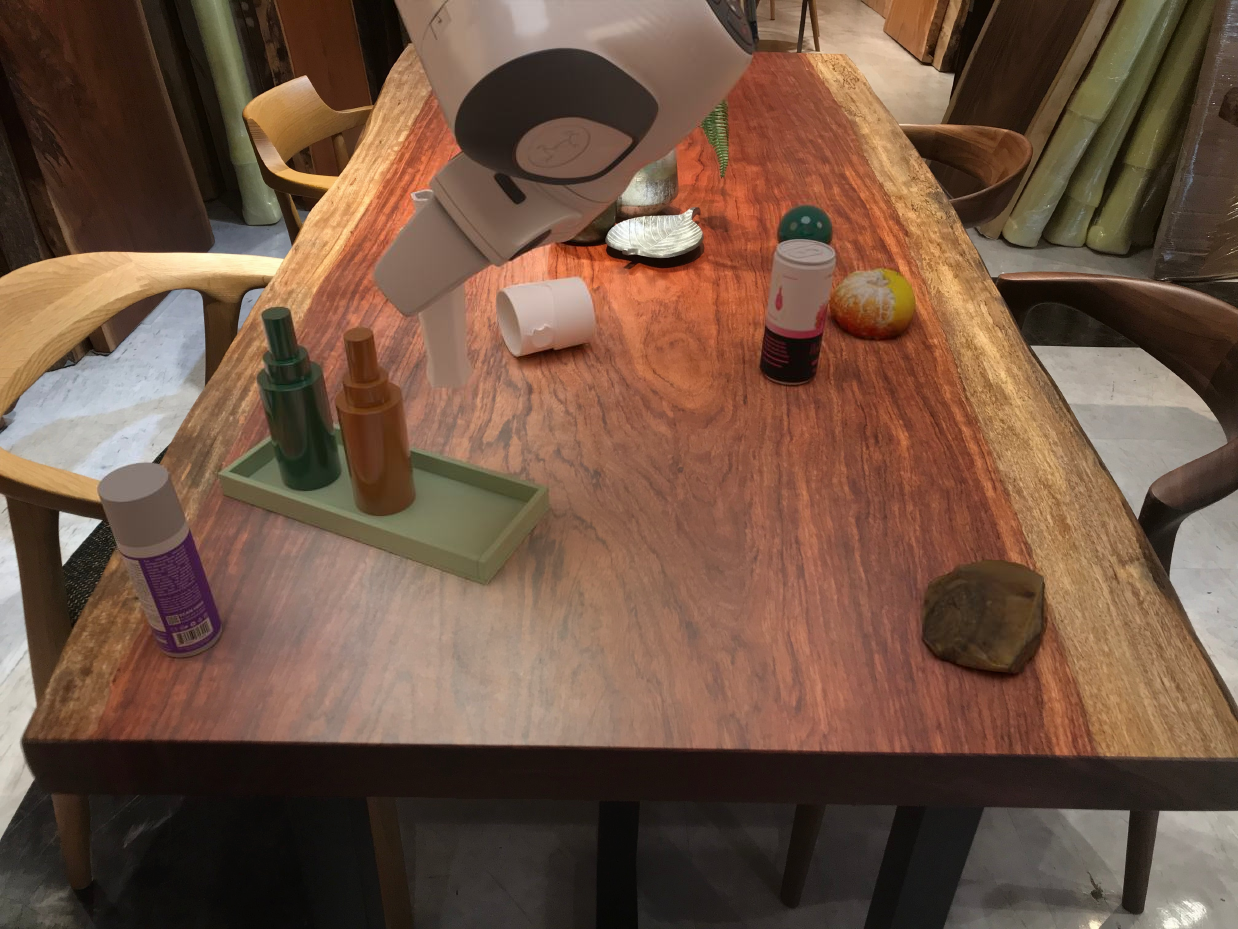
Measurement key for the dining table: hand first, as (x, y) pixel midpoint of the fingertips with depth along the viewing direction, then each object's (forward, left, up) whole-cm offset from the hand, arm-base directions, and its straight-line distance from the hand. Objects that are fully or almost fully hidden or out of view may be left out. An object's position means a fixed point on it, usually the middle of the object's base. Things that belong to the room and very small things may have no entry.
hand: (431, 281), depth 67 cm
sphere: (+73, -13, -24) cm, 78 cm away
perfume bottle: (0, 0, -9) cm, 8 cm away
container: (-20, +12, -24) cm, 33 cm away
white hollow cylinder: (+34, +9, -24) cm, 43 cm away
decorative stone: (+7, -45, -24) cm, 51 cm away
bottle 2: (0, +8, -23) cm, 25 cm away
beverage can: (+40, -20, -24) cm, 51 cm away
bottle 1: (0, +16, -23) cm, 28 cm away
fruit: (+57, -26, -24) cm, 67 cm away
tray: (0, +8, -24) cm, 25 cm away
